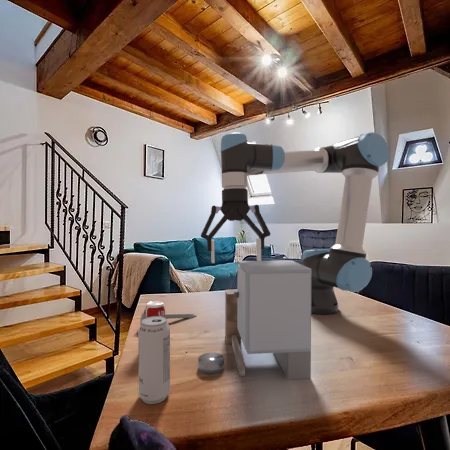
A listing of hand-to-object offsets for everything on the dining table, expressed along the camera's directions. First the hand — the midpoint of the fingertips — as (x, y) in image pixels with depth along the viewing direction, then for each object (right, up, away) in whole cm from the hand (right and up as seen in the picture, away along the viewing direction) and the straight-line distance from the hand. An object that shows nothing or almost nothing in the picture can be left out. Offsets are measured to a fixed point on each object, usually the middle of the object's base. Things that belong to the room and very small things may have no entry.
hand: (236, 261), depth 83 cm
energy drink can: (-17, -23, -27) cm, 40 cm away
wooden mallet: (0, -23, -10) cm, 25 cm away
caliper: (-22, -23, +13) cm, 34 cm away
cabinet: (+8, -23, -15) cm, 28 cm away
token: (-7, -23, -17) cm, 29 cm away
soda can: (-22, -23, -6) cm, 32 cm away
